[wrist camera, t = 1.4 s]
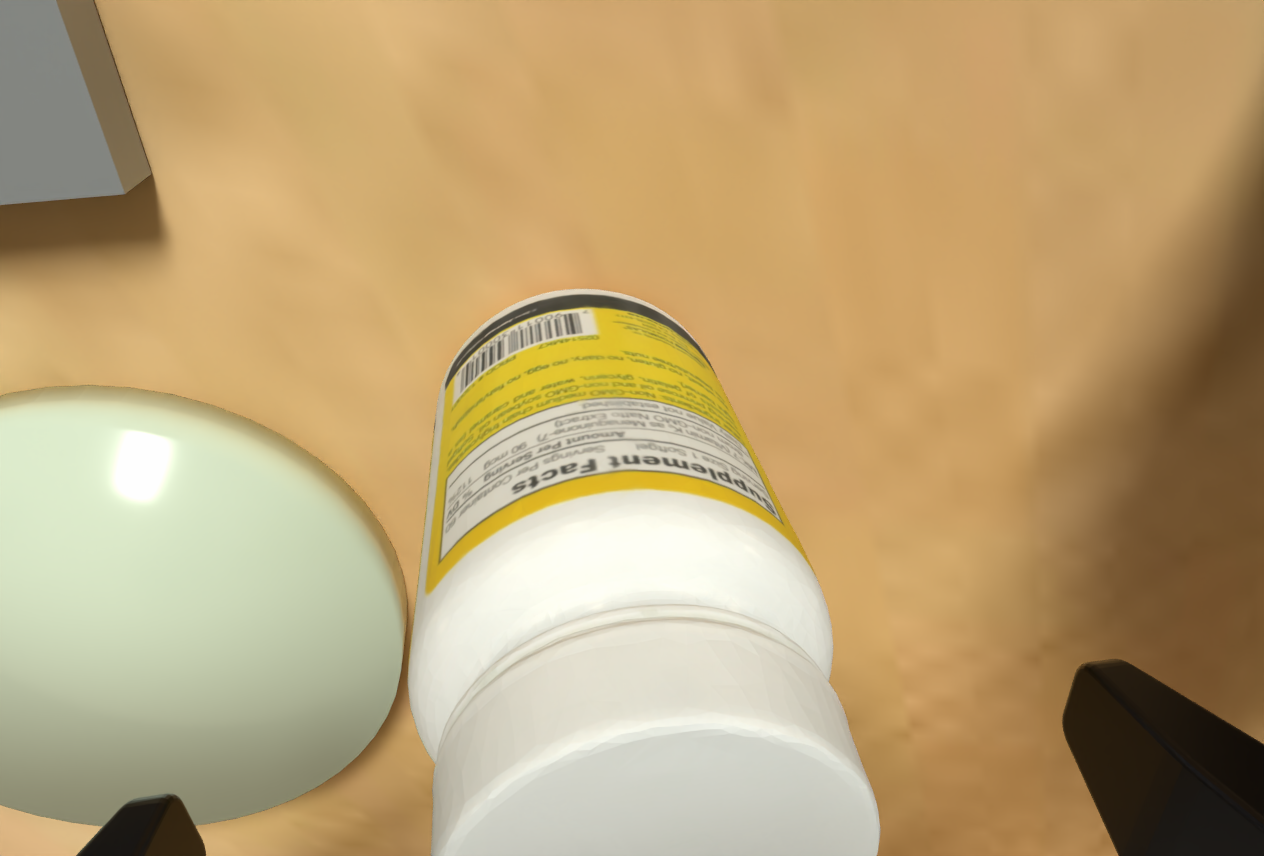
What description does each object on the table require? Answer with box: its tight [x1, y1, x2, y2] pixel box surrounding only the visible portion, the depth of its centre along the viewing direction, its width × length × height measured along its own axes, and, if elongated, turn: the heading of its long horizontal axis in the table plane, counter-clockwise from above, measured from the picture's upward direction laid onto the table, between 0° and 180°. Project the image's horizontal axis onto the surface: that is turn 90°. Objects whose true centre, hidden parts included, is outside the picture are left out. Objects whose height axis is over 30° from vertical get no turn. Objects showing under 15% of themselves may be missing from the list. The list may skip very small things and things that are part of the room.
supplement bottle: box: [408, 289, 880, 856], centre depth 11 cm, size 5×5×8 cm
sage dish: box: [0, 385, 407, 826], centre depth 15 cm, size 9×9×1 cm
